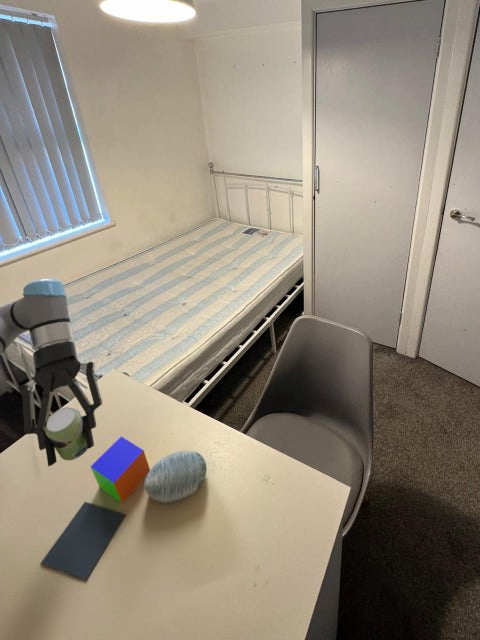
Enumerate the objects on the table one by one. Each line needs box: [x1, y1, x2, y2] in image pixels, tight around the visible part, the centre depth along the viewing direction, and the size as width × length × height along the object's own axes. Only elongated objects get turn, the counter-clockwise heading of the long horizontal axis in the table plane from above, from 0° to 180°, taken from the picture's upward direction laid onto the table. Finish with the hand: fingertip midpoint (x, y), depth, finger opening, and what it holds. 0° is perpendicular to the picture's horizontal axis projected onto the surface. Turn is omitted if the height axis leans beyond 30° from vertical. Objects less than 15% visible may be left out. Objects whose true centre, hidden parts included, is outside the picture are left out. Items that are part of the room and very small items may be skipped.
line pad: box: [40, 501, 127, 581], centre depth 68 cm, size 11×11×1 cm
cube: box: [90, 436, 151, 504], centre depth 77 cm, size 8×8×8 cm
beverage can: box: [45, 406, 89, 461], centre depth 68 cm, size 6×7×12 cm
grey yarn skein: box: [144, 450, 208, 504], centre depth 76 cm, size 14×10×10 cm
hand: (72, 455), depth 66 cm, fingers closed on beverage can, 6 cm apart
